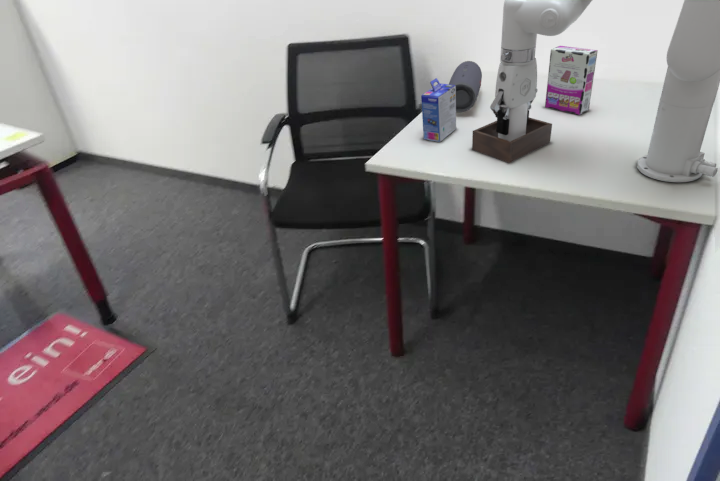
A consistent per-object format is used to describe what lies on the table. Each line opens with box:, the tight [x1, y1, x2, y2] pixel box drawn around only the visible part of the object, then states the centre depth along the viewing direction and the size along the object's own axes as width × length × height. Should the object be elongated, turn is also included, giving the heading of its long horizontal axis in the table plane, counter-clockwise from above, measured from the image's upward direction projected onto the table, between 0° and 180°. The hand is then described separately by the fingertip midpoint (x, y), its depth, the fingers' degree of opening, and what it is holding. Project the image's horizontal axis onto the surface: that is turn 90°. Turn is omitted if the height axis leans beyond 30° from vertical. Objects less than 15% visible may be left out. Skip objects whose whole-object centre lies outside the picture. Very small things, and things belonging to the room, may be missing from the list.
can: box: [498, 102, 528, 141], centre depth 130 cm, size 6×6×12 cm
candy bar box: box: [544, 45, 599, 116], centre depth 147 cm, size 11×5×16 cm, turn 42°
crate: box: [471, 117, 553, 164], centre depth 132 cm, size 12×16×5 cm
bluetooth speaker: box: [448, 60, 483, 113], centre depth 159 cm, size 23×9×10 cm, turn 165°
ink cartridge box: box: [420, 78, 457, 143], centre depth 140 cm, size 10×6×14 cm, turn 146°
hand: (512, 128), depth 131 cm, fingers open, 6 cm apart
